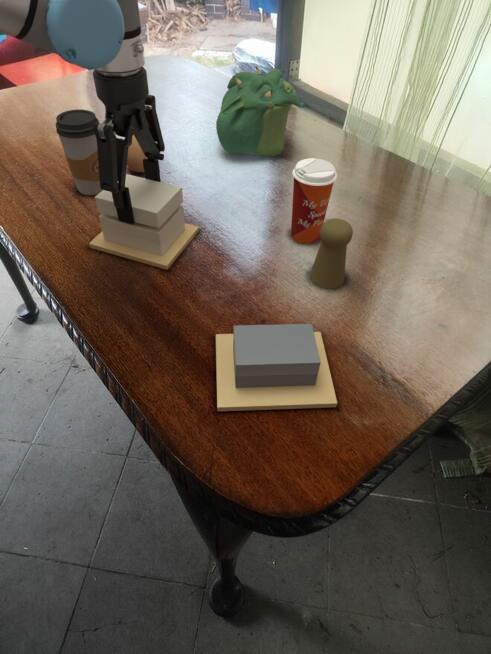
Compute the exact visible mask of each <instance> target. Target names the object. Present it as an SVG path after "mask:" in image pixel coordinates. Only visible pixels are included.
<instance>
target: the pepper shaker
mask: <svg viewBox="0 0 491 654" xmlns="http://www.w3.org/2000/svg"><path fill="white" fill-rule="evenodd" d="M353 234H354V230H353V227H352V225H351V224H350V223H349V221H347V220H344V219H342V218H329V219H327V220H325V221H324V223H323V225H322V226H321V229H320V238H319V239H320V240H321V242H320V244H319V247H318V250H317V252H316V255H315V259H314V262H313V264H312V266H311V270H310V273H309V278H310V280H311V282H312V283H313V284H314V285H316V286H318V287H320V288H323V289H336V288H339V287H341V286H342V285H343V284H344V282H345V275H346V262H347V250H348V249H347V248H348V245H349V243H350V242H351V240H352V238H353Z"/></svg>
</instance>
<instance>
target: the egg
mask: <svg viewBox="0 0 491 654" xmlns="http://www.w3.org/2000/svg"><path fill="white" fill-rule="evenodd" d="M144 158H146V159H148V157H145V155H144V153H143V151H142V149H141V147H140V145H139V144H138V142H137V140H136V138H135V136H134V135H133V136H132V144H131V145H130V146H129V148H128V159H127V168H129V169H130V170H131V171H133V172H135V173H139V174H140V173H144V167H143V159H144Z"/></svg>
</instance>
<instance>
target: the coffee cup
mask: <svg viewBox="0 0 491 654" xmlns="http://www.w3.org/2000/svg"><path fill="white" fill-rule="evenodd" d="M55 120H56V122H55V131H56V134H57V135H58V137H59V140H60V143H61V146H62V149H63V152H64V156H65V158H66V162H67V165H68V168H69V171H70V173H71V176H72V178H73V181H74V184H75V187H76V190H77V191H78V192H79V193H80V194H82V195H84V196H97V195H98V194H99V193H100V192H101V191H103V190H101V188H100V178H99V165H98V151H97V139H96V136H95V133H94V129H93V125H94V123H100V121H99V118H97V116H96V113H95V112H93V111H91V110H87V109H70V110H65V111H63V112H61V113H59V114H57V115H56V117H55Z"/></svg>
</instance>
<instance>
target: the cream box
mask: <svg viewBox="0 0 491 654" xmlns="http://www.w3.org/2000/svg"><path fill="white" fill-rule="evenodd" d="M184 212H185V211H184V206H183V205H180V206H179V207H178V208H177V209H176V210H175V211H174V212H173V213H172V215H171V216H170V217H169V218H168V219H167V220H166V221H165V222H164V223H163V224H162V225H161V227H160V228H156V227H152V226H148V225H144V224H141V223H137V222H134V223H133V224H129V223H125V222H121V221H119V220H118V217H114V216H111V215H107V214H103V213H100V215H99V216H98V218H99V219H98V220H99V223H100V228H101V232H100V233H98V234H97V235H96V236H95V237H94V238H93V239H92V240H91V241H90V242H89V243H88V246H89V248H90V249H93V250H97V251H100V252H103V253H107V254H111V255H114V256H117V257H121V258H125V259H128V260H131V261H133V262H134V261H135V262H138V263H142V264H145V265H148V266H152V267H155V268H159V269H162V270H166V271H168V270H169V269H170V268H171V266H172V265H173V264H174V263H175V262H176V261H177V259H178V258H179V256H180V255H181V254H182V253H183V251H185V249H186V248H187V247H188V245H189V244H190V243H191V241H192V240H193V239H194V238H195V237H196V236H197V234H198V233H199V231H200V226H199V225H195V224H190V223H187V222H185V213H184Z"/></svg>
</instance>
